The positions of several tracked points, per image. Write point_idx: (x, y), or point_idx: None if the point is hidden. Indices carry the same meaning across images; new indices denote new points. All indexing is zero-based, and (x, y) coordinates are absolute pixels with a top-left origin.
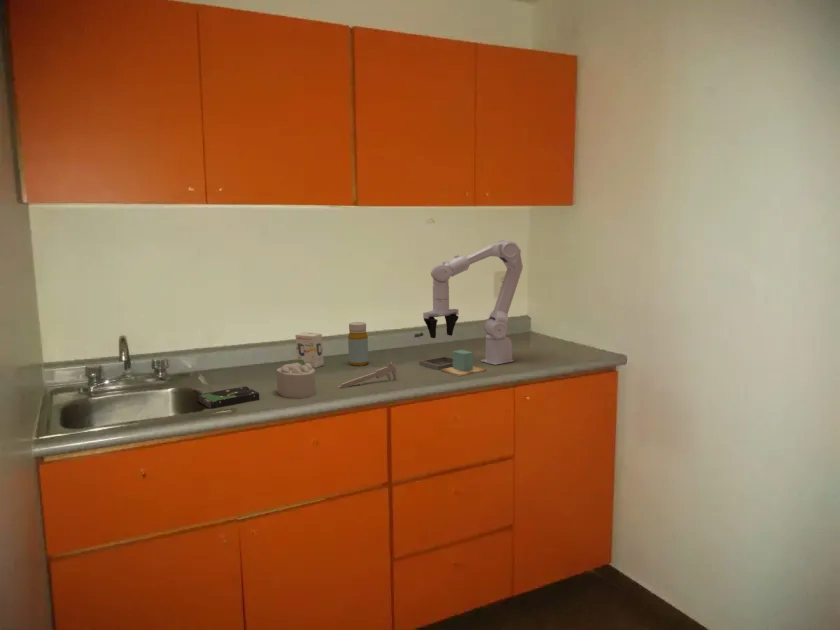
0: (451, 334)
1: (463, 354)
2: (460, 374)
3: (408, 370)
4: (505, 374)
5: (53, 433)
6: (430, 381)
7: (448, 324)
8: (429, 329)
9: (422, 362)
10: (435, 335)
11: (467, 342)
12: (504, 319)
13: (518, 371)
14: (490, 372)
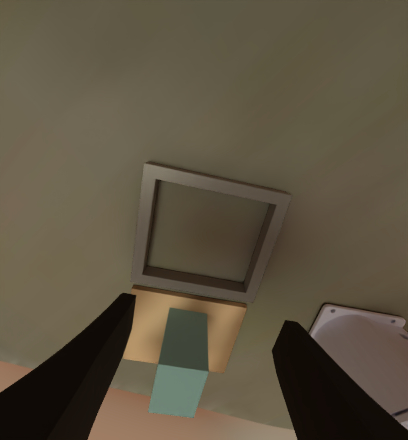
0: (278, 361)
1: (149, 408)
2: (126, 358)
3: (50, 193)
4: (219, 409)
5: None
6: (22, 332)
7: (331, 433)
8: (78, 349)
9: (141, 188)
10: (121, 350)
11: None
12: None
13: (264, 413)
14: (215, 381)
